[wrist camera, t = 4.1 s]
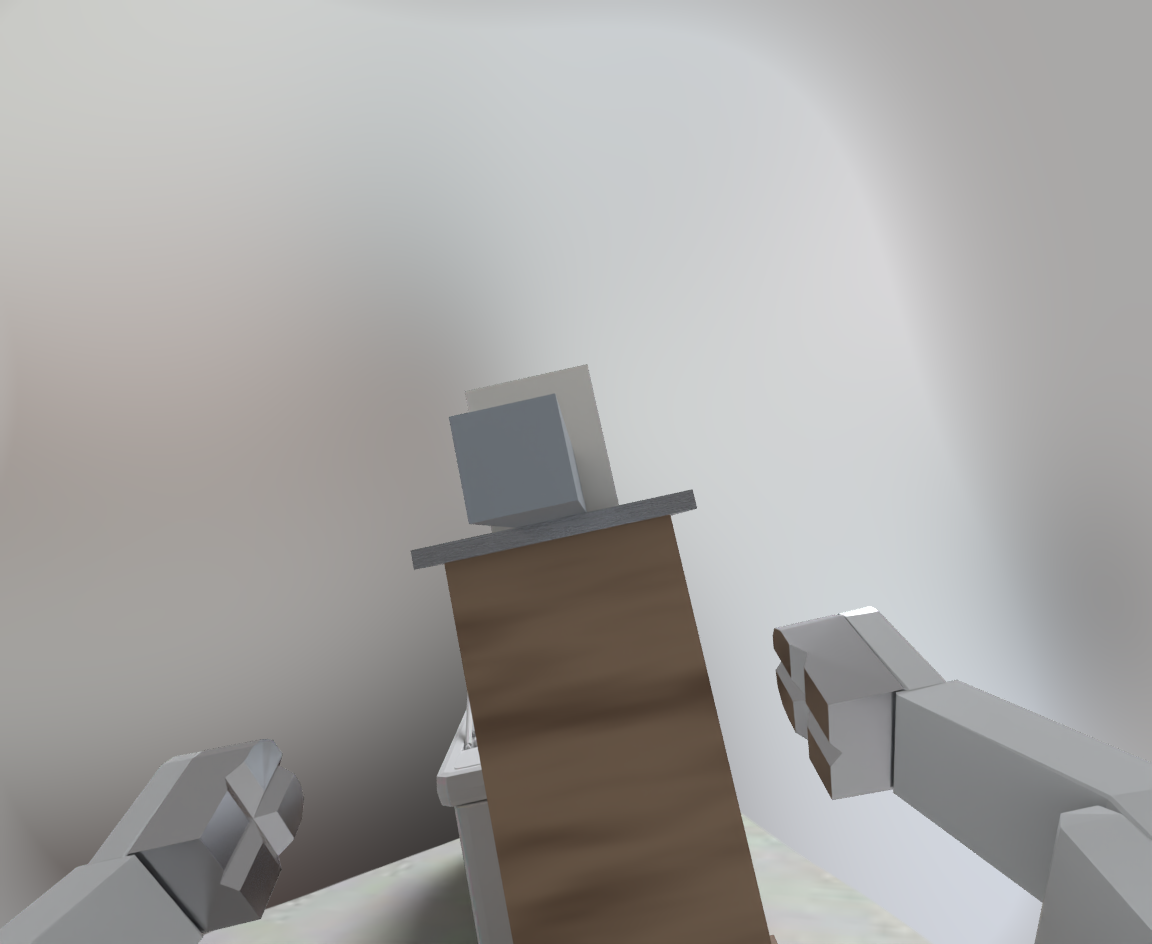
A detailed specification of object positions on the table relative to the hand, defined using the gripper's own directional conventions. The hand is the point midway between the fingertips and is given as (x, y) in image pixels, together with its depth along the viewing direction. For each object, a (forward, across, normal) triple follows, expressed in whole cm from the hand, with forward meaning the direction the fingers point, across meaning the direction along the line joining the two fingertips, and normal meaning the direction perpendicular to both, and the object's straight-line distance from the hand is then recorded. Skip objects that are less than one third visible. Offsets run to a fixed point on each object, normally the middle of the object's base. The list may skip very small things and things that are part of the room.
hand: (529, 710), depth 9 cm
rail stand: (+5, 0, +29) cm, 29 cm away
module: (+14, 0, +4) cm, 15 cm away
